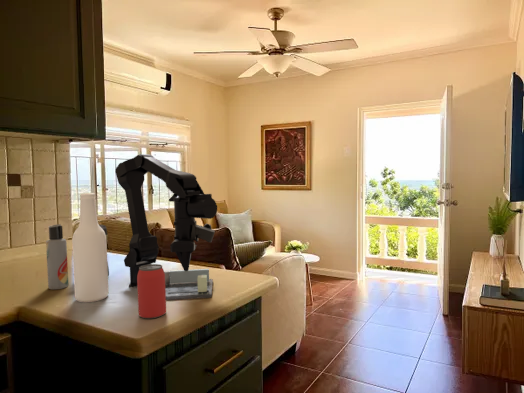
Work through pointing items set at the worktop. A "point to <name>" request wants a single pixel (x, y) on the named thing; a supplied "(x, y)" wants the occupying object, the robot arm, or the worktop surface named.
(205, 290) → the fader knob
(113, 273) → the worktop surface
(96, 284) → the alcohol
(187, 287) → the console
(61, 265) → the lotion bottle
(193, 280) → the door
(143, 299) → the beer can
